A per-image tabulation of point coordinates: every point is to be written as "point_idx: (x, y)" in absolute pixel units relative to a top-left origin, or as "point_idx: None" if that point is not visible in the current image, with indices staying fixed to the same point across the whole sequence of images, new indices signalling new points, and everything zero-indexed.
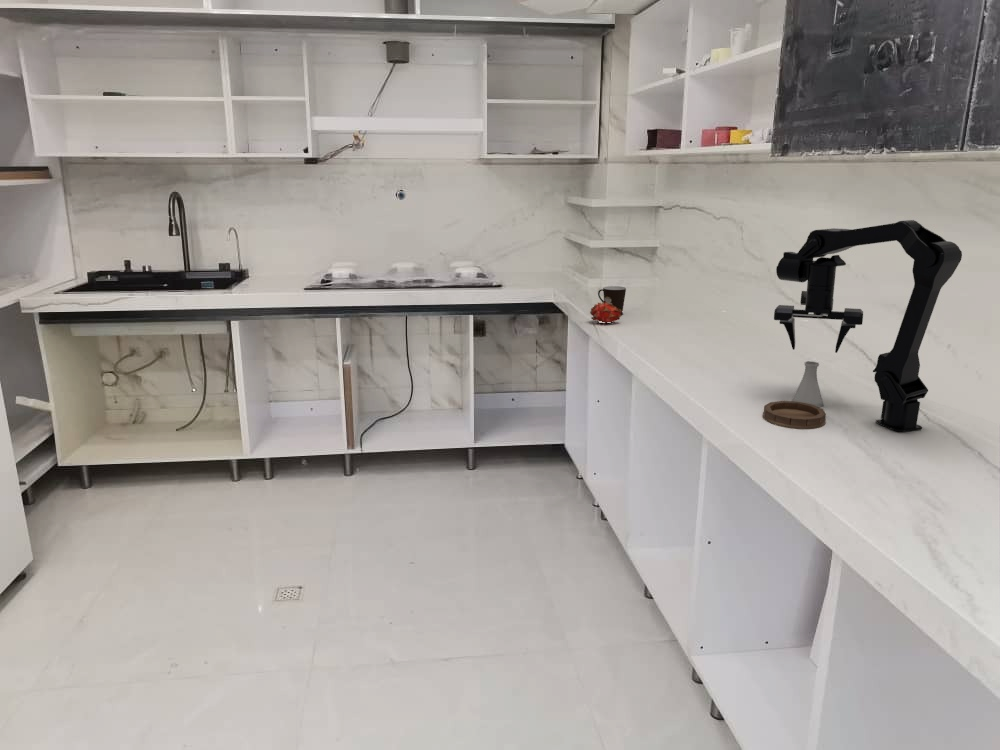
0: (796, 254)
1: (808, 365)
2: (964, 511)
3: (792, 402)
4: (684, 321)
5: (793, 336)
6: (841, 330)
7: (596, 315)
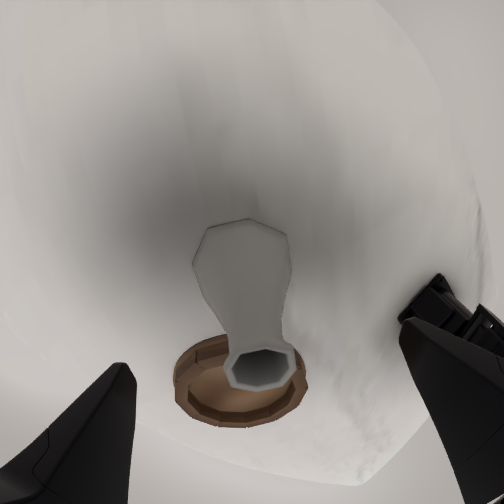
0: None
1: (251, 387)
2: (397, 443)
3: (222, 363)
4: None
5: (127, 484)
6: (465, 483)
7: None
